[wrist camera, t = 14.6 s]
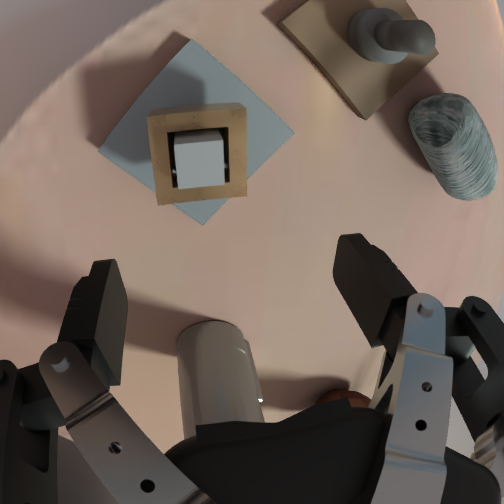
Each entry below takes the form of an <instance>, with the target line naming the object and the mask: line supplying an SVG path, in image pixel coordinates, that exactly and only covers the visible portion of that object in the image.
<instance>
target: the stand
mask: <svg viewBox="0 0 504 504" xmlns="http://www.w3.org/2000/svg"><path fill="white" fill-rule="evenodd" d="M277 25H278V26H279V27H280V28H281V29H282V30H283V31H284V32H285V33H286V34H287V35H288V36H289V37H290V38H291V39H292V40H293V41H294V42H295V43H296V44H297V45H298V46H299V47H300V48H301V49H302V50H303V51H304V53H305V54H306V55H307V56H308V57H309V58H310V59H311V60H312V61H313V62H314V64H315V65H316V66H317V67H318V68H319V69H320V70H321V71H322V73H323V74H324V75H325V76H326V77H327V78H328V80H329V81H330V82H331V83H332V84H333V85H334V87H335V88H336V89H337V90H338V92H339V93H340V94H341V95H342V96H343V98H344V99H345V100H346V101H347V103H348V104H349V105H350V107H351V108H352V109H353V110H354V112H355V113H356V114H357V116H358V117H360V118H362V119H364V120H367V119H368V118H369V117H370V116H371V115H372V114H374V113H375V112H376V111H377V110H378V109H379V108H380V107H381V106H382V105H383V104H384V103H385V102H386V101H388V100H389V99H390V98H391V97H392V96H393V95H394V94H395V93H396V92H397V91H398V90H399V89H401V88H402V87H403V86H404V85H405V84H406V83H407V82H408V81H409V80H410V79H411V78H413V77H414V76H415V75H416V74H417V73H418V72H419V71H420V70H421V69H422V68H424V67H425V66H426V65H427V64H428V63H429V62H430V61H431V60H432V59H433V58H435V57H436V56H437V55H438V54H439V53H438V51H437V50H436V48H435V35H434V32H433V30H432V28H431V27H430V26H429V24H427V23H426V22H424V21H422V20H418V18H417V17H416V15H415V14H414V12H413V11H412V9H411V8H410V6H409V5H408V3H407V2H406V0H306V1H305V2H303V3H302V4H301V5H300V6H298V7H297V8H296V9H294V10H293V11H292V12H291V13H289V14H288V15H287V16H286V17H284V18H283V19H282V20H281V21H279V22H278V23H277Z"/></svg>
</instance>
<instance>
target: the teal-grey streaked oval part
mask: <svg viewBox="0 0 504 504" xmlns="http://www.w3.org/2000/svg"><path fill="white" fill-rule="evenodd" d="M408 122H409V125H410V129H411V132H412V135H413V137H414V138H415V140H416V142H417V144H418V146H419V148H420V149H421V151H422V153H423V155H424V157H425V158H426V160H427V162H428V164H429V166H430V168H431V170H432V171H433V173H434V175H435V177H436V178H437V180H438V182H439V183H440V185H441V186H442V188H443V189H444V190H445V192H446V193H447V194H449V195H450V196H452V197H454V198H456V199H460V200H477V199H480V198H483V197H485V196H486V195H488V194H490V193H491V192H492V190H493V189H494V188H495V186H496V183H497V177H498V165H497V158H496V155H495V150H494V147H493V144H492V141H491V138H490V135H489V133H488V131H487V129H486V127H485V125H484V122H483V120H482V119H481V117H480V116H479V114H478V112H477V111H476V109H475V107H474V106H473V105H472V103H471V102H470V101H469V100H468V99H467V98H465V97H464V96H461V95H458V94H452V93H443V94H436V95H433V96H429V97H426V98H424V99H422V100H420V101H419V102H418V103H417V104H416V105H415V106H413V108H412V109H411V111H410V113H409V117H408Z"/></svg>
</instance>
